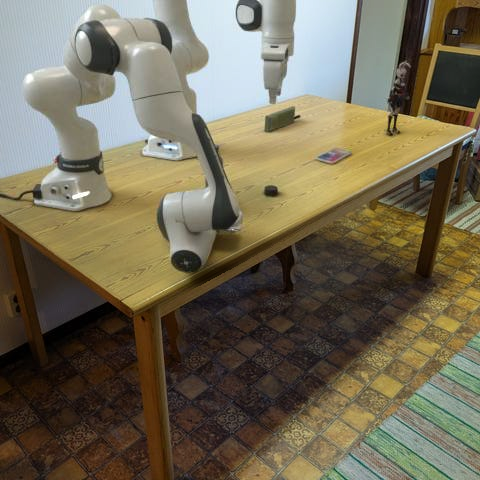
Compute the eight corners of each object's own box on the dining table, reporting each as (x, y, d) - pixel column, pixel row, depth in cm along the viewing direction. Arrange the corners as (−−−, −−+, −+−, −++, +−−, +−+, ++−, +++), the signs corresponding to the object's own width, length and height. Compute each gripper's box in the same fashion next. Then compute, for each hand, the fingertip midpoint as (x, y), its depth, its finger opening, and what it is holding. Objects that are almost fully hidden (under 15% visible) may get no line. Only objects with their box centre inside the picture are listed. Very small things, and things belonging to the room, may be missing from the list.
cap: (278, 196, 157) (278, 190, 156) (265, 196, 157) (265, 190, 156) (276, 190, 161) (276, 185, 160) (263, 191, 161) (263, 185, 160)
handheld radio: (263, 130, 215) (295, 118, 232) (269, 132, 213) (301, 119, 230) (264, 115, 212) (297, 103, 229) (270, 117, 210) (303, 105, 227)
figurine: (387, 138, 208) (399, 62, 194) (375, 134, 212) (386, 59, 197) (406, 131, 217) (419, 57, 202) (394, 128, 221) (406, 55, 206)
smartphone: (352, 151, 191) (332, 162, 181) (352, 154, 191) (332, 165, 181) (335, 147, 195) (315, 157, 185) (335, 149, 195) (314, 159, 185)
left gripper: (240, 221, 124) (246, 197, 136) (159, 216, 126) (172, 193, 138) (240, 243, 127) (246, 218, 139) (160, 238, 129) (173, 214, 141)
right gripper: (271, 41, 147) (270, 90, 154) (259, 53, 130) (258, 107, 136) (293, 42, 146) (290, 91, 153) (284, 54, 129) (281, 108, 135)
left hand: (208, 206), depth 139 cm, fingers open, 8 cm apart
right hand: (275, 99), depth 144 cm, fingers open, 8 cm apart
